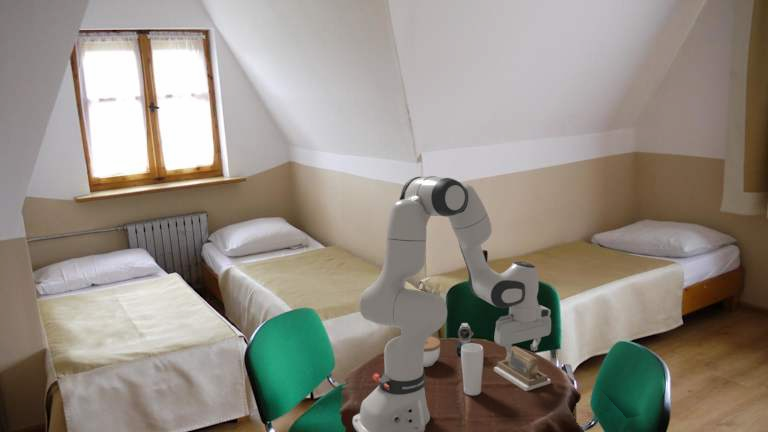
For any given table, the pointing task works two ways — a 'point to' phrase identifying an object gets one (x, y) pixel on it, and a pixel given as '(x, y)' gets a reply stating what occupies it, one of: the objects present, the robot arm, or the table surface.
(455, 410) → the table surface
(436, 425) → the table surface
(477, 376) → the drinking glass
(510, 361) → the cardboard box
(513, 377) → the small wooden cabinet
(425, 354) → the lidded jar
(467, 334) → the watch
